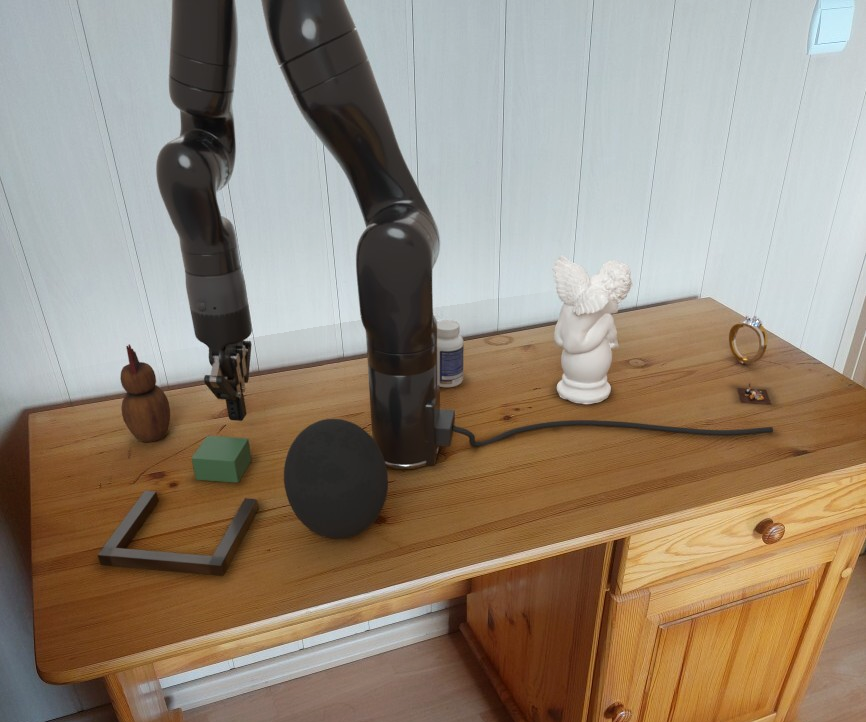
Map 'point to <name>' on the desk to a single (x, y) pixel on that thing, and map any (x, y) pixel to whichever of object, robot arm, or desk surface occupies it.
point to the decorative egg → (335, 478)
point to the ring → (762, 336)
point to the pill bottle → (449, 354)
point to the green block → (221, 459)
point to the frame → (166, 561)
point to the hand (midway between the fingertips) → (238, 417)
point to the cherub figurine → (588, 327)
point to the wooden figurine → (143, 401)
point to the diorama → (753, 395)
